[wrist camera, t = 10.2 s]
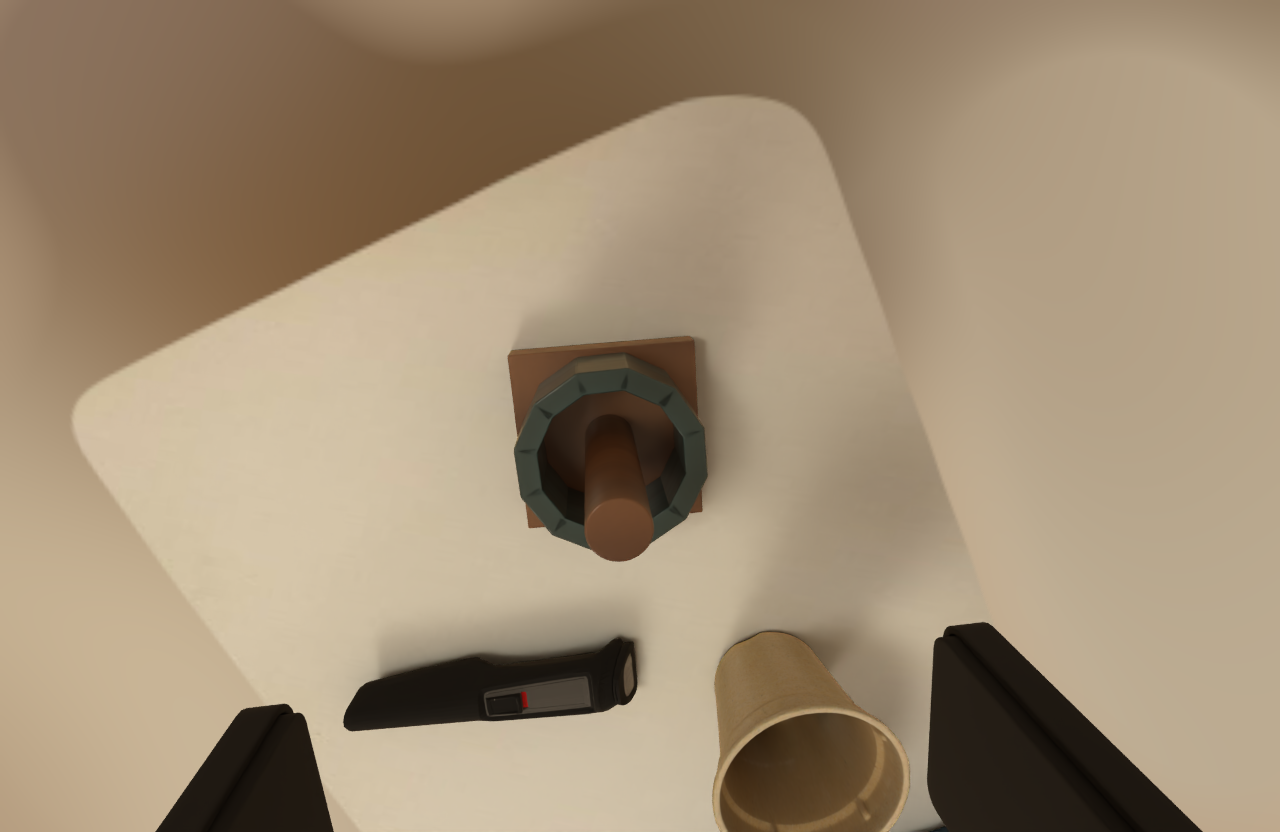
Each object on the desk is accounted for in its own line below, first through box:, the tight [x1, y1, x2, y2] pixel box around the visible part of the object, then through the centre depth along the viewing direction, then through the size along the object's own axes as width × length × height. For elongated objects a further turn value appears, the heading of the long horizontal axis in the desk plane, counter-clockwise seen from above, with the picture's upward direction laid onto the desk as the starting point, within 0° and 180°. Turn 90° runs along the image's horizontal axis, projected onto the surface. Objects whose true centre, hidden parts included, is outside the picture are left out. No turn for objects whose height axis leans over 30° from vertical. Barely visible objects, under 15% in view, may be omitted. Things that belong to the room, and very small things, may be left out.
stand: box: [508, 336, 702, 562], centre depth 30 cm, size 9×9×12 cm
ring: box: [514, 352, 708, 550], centre depth 32 cm, size 8×8×4 cm
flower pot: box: [712, 632, 910, 832], centre depth 36 cm, size 9×9×9 cm
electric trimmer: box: [343, 638, 637, 731], centre depth 38 cm, size 4×16×3 cm, turn 94°
